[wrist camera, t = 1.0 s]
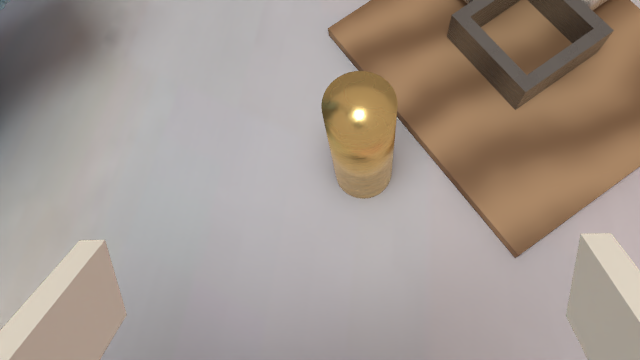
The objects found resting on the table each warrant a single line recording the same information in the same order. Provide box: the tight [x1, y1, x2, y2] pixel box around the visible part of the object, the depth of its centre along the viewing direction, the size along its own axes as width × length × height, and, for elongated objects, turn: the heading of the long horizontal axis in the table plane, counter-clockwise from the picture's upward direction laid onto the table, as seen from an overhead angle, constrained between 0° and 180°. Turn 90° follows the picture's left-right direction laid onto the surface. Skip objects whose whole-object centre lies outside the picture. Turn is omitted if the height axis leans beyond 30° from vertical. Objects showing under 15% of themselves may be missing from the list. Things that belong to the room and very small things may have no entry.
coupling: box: [322, 71, 398, 198], centre depth 36 cm, size 4×4×12 cm
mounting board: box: [328, 0, 640, 258], centre depth 43 cm, size 24×21×1 cm
